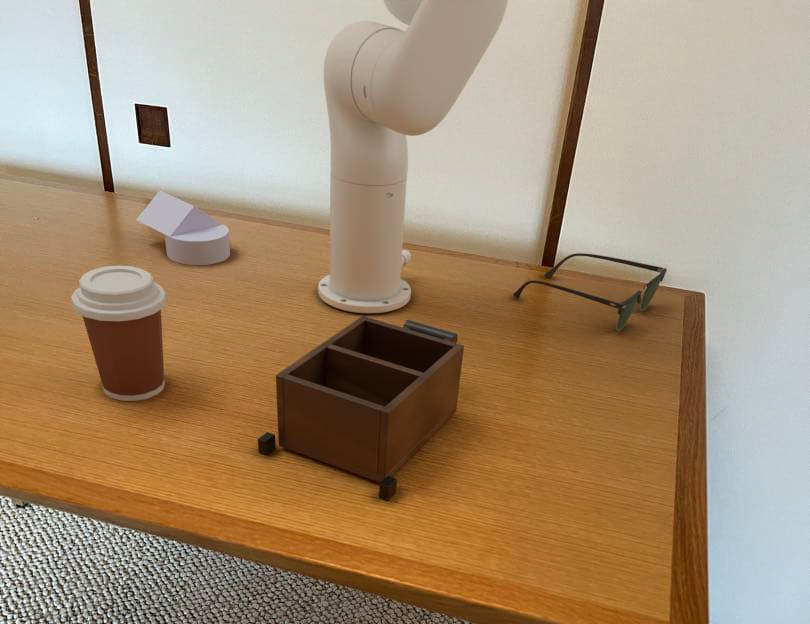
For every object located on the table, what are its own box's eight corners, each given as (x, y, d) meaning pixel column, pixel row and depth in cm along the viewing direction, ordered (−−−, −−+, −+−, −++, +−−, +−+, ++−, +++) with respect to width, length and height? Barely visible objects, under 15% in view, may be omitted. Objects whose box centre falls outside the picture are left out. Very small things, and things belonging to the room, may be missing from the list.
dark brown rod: (267, 445, 81) (267, 431, 80) (396, 492, 76) (397, 478, 75) (258, 452, 80) (257, 438, 79) (388, 501, 75) (388, 487, 74)
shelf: (383, 362, 95) (387, 298, 90) (476, 391, 91) (485, 326, 86) (278, 445, 80) (275, 374, 75) (384, 484, 76) (388, 412, 71)
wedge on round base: (139, 243, 120) (190, 270, 114) (132, 195, 116) (185, 221, 109) (190, 230, 125) (242, 255, 119) (186, 185, 121) (239, 208, 115)
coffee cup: (77, 378, 89) (53, 271, 81) (156, 359, 93) (141, 255, 86) (109, 416, 83) (87, 304, 76) (191, 393, 88) (179, 285, 80)
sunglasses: (554, 270, 122) (560, 237, 119) (661, 302, 116) (670, 267, 112) (501, 304, 111) (507, 268, 108) (616, 341, 105) (625, 304, 102)
